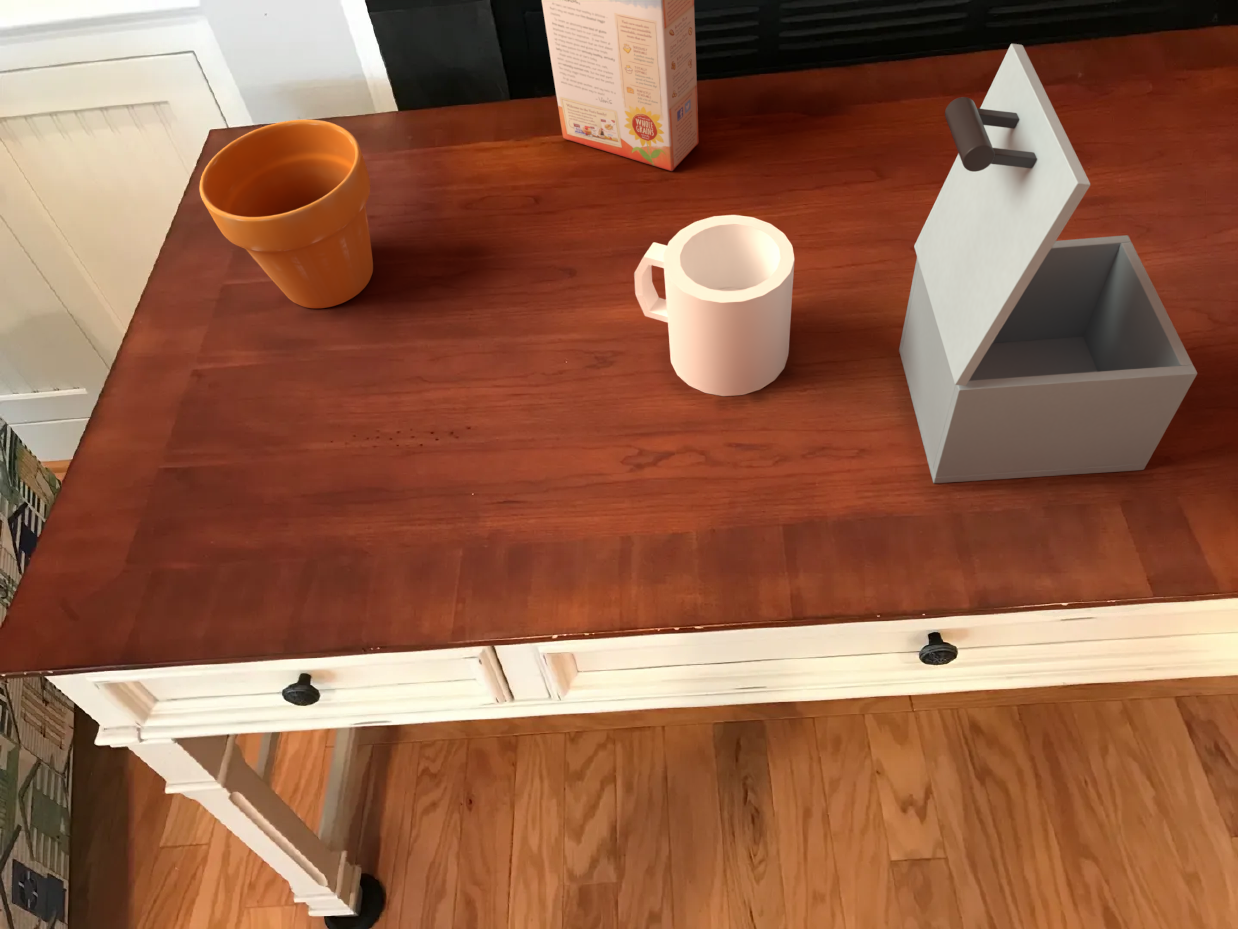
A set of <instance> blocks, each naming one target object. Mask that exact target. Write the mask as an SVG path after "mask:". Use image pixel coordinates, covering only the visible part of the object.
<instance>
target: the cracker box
mask: <svg viewBox="0 0 1238 929" xmlns="http://www.w3.org/2000/svg"><path fill="white" fill-rule="evenodd" d="M541 6H542V12H543V17H544V18H543V19H544V25H545V33H546V37H547V38H546V39H547V44H548V50H549V57H550V63H551V70H552V76H553V83H554V88H555V96H556V101H557V107H558V114H559V121H560V127H561V133H562V138H563V139H564V140H567V141H571V142H573V143H577V144H580V145H584V146H587V147H591V148H594V149H597V150H600V151H604V152H607V153H610V154H614V155H616V156H620V157H623V158H627V159H630V160H633V161H637V162H639V163H642V164H643V163H644V164H647V165H650V166H653V167H656V168H659V169H663V170H665V171H669V172H673V171H674V170H676V168H677V166H679V165H680V164H681V163H682V161H683V160H684V159H685V158H686V157H687V156H688V155H689V154H690V153H691V152H692V151H693V150H694V149H695V147H697V146H698V144H699V142H700V141H699V140H700V139H699V114H698V112H699V109H698V108H699V106H698V81H697V76H698V74H697V53H696V52H697V51H696V50H697V49H696V24H695V23H696V22H695V18H696V17H695V0H541Z"/></svg>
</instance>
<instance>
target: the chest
mask: <svg viewBox="0 0 1238 929" xmlns="http://www.w3.org/2000/svg"><path fill="white" fill-rule="evenodd" d="M898 352H899V354H900V355H899V356H900V359H901V363H902V367H903V371H904V375H905V379H906V382H907V387H908V390H909V394H910V398H911V402H912V407H913V409H914V414H915V417H916V421H917V425H918V429H919V432H920V436H921V441H922V445H923V448H924V453H925V456H926V461H927V465H928V469H929V472H930V476H931V480H932V483H933V484H947V483H960V482H961V483H962V482H978V481H991V480H992V481H994V480H1009V479H1022V478H1023V479H1024V478H1039V477H1053V476H1054V477H1055V476H1056V477H1057V476H1070V475H1071V476H1072V475H1086V474H1101V473H1117V472H1135V471H1144V470H1145V469H1146V467H1147V465H1148V463H1149V461H1150V460H1151V458H1152V456H1153V454H1154V452H1155V451H1156V449H1157V447H1158V445H1159V444H1160V441H1161V440H1162V439H1163V436H1164V435H1165V432H1166V430H1167V429H1168V427H1169V425H1170V424H1171V422H1172V420H1173V419H1174V417H1175V415H1176V413H1177V411H1178V409H1179V408H1180V406H1181V404H1182V402H1183V400H1184V399H1185V397H1186V395H1187V393H1188V391H1189V389H1190V387H1191V386H1192V384H1193V382H1194V380H1195V379H1196V377H1197V375H1198V372H1197V370H1196V367H1195V366H1194V364H1193V362H1192V359H1191V358H1190V356H1189V354H1188V352H1187V350H1186V348H1185V346H1184V343H1183V341H1182V340H1181V338H1180V335H1179V334H1178V332H1177V330H1176V328H1175V325H1174V324H1173V322H1172V320H1171V318H1170V316H1169V314H1168V312H1167V310H1166V308H1165V306H1164V304H1163V301H1162V300H1161V298H1160V296H1159V294H1158V292H1157V290H1156V287H1155V286H1154V284H1153V282H1152V280H1151V278H1150V276H1149V274H1148V272H1147V270H1146V268H1145V266H1144V264H1143V262H1142V260H1141V258H1140V256H1139V254H1138V252H1137V250H1136V248H1135V246H1134V244H1133V242H1132V240H1131V238H1130V236H1129V235H1128V234H1127V235H1124V234H1123V235H1113V236H1102V237H1089V238H1076V239H1075V238H1074V239H1066V240H1063V239H1062V240H1056V241H1055V243H1054V245H1053V246H1052V248H1051V249H1050V251H1049V253H1048V254H1047V256H1046V257H1045V259H1044V261H1043V262H1042V264H1041V265H1040V267H1039V269H1038V270H1037V272H1036V273H1035V275H1034V277H1033V278H1032V280H1031V282H1030V283H1029V285H1028V286H1027V288H1026V290H1025V291H1024V293H1023V294H1022V296H1021V298H1020V299H1019V301H1018V302H1017V304H1016V306H1015V307H1014V309H1013V310H1012V312H1011V314H1010V315H1009V317H1008V318H1007V320H1006V322H1005V323H1004V325H1003V327H1002V328H1001V330H1000V331H999V333H998V335H997V336H996V338H995V339H994V341H993V343H992V344H991V346H990V347H989V349H988V351H987V352H986V354H985V355H984V357H983V359H982V360H981V362H980V364H979V365H978V367H977V368H976V370H975V372H974V373H973V375H972V376H971V378H970V380H969V381H968V383H967V384H966V385H965V386H964V385H955V383H954V380H953V376H952V373H951V370H950V366H949V363H948V359H947V356H946V353H945V349H944V346H943V343H942V339H941V336H940V332H939V329H938V326H937V322H936V319H935V316H934V312H933V309H932V305H931V302H930V299H929V295H928V292H927V288H926V285H925V282H924V278H923V275H922V272H921V268H920V265H919V261H918V258H917V257H916V261H915V265H914V271H913V276H912V282H911V287H910V292H909V297H908V301H907V307H906V312H905V317H904V323H903V328H902V332H901V339H900V343H899V348H898Z"/></svg>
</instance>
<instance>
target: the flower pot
mask: <svg viewBox="0 0 1238 929" xmlns="http://www.w3.org/2000/svg"><path fill="white" fill-rule="evenodd" d="M198 187H199V189H198V190H199V194H200V197H201V201H202V202H203V204H204V206H205V207H206V209H207V211H208V213H209V214H210V216H211V218H212V220H213V222H214V223H215V225H216V226H217V228H218V229H219V231H220V232H221V234H222V236H224V238H225V239H226V240H228V241H229V242H230V243H231V244H233V245H234V246H237V247H239V248H242V249H243V250H245V251H246V252H247V253H248V254H249V255H250V256H251V257H252V259H253V260H254V261H255V263H257V265H258V266H259V267H260V268H261V269H262V270H263V271H264V273H265V274H266V275H267V276H268V277H269V279H271V281H273V283H274V284H275V285H276V286H277V288H279V290H280V291H281V292H282V293H283V294H284V295H285V296H286V297H287V298H288V300H290V301H291V302H292V303H294V304H296V305H298V306H301V307H303V308H307V309H325V308H331V307H335V306H338V305H341V304H343V303H346V302H348V301H349V300H352V299H353V298H354V297H356V296H358V295H359V294H360V293H361V292H362V291H363V290H364V289H365V288H366V287H367V285H368V284H369V282H370V281H371V279H372V275H373V272H374V261H373V252H372V242H371V234H370V226H369V218H368V212H367V205H366V204H367V202H368V200H369V198H370V193H371V178H370V175H369V171H368V169H367V164H366V160H365V158H364V155H363V152H362V150H361V147H360V144H359V142H358V140H357V138H356V137H355V136H354V135H353V134H352V133H351V132H350V131H348V130H347V129H346V128H344V127H342V126H340V125H338V124H335V123H333V122H330V121H325V120H319V119H292V120H285V121H279V122H276V123H271V124H268V125H265V126H261V127H259V128H257V129H254V130H251V131H249V132H246V133H245V134H243V135H242V136H239V137H237V138H236V139H235V140H232V141H231V142H230V143H228V144H227V145H226V146H225V147H223V148H221V149H220V151H218V152H217V153H216V154H215V155H214V156H213V157H212V158H211V159H210V161H209V162H208V164H207V165H206V166H205V167H204V170H203V171H202V174H201V176H200V181H199V186H198Z"/></svg>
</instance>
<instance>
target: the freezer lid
mask: <svg viewBox="0 0 1238 929" xmlns="http://www.w3.org/2000/svg"><path fill="white" fill-rule="evenodd" d="M944 117H945V120H946V122H947V123H946V124H947V126H948V128H949V131H950V134H951V136H952V139H953V143H954V145H955V148H956V149H957V152H958V153H957V156H956V158H955V160H954V161H953V164H952V166H951V168H950V169H949V172H948V175H947V177H946V178H945V180H944V183H943V185H942V187H941V189H940V191H939V193H938V195H937V197H936V200H935V201H934V204H933V206H932V208H931V210H930V212H929V214H928V216H927V218H926V220H925V222H924V224H923V227H922V228H921V231H920V233H919V235H918V237H917V239H916V242H915V243H914V246H913V248H914V251H915V255H916V259H917V258H918V261H919V265H920V268H921V272H922V275H923V278H924V282H925V285H926V288H927V292H928V295H929V299H930V302H931V305H932V309H933V312H934V316H935V319H936V322H937V326H938V329H939V332H940V336H941V339H942V343H943V346H944V349H945V353H946V356H947V359H948V363H949V366H950V370H951V373H952V376H953V380H954V383H955V385H964V386H965V385H966V384H967V383H968V381H969V380H970V378H971V376H972V375H973V373H974V372H975V370H976V368H977V367H978V365H979V364H980V362H981V360H982V359H983V357H984V355H985V354H986V352H987V351H988V349H989V347H990V346H991V344H992V343H993V341H994V339H995V338H996V336H997V335H998V333H999V331H1000V330H1001V328H1002V327H1003V325H1004V323H1005V322H1006V320H1007V318H1008V317H1009V315H1010V314H1011V312H1012V310H1013V309H1014V307H1015V306H1016V304H1017V302H1018V301H1019V299H1020V298H1021V296H1022V294H1023V293H1024V291H1025V290H1026V288H1027V286H1028V285H1029V283H1030V282H1031V280H1032V278H1033V277H1034V275H1035V273H1036V272H1037V270H1038V269H1039V267H1040V265H1041V264H1042V262H1043V261H1044V259H1045V257H1046V256H1047V254H1048V253H1049V251H1050V249H1051V248H1052V246H1053V245H1054V243H1055V241H1058V238H1059V237H1060V235H1061V233H1062V232H1063V230H1064V229H1065V227H1066V225H1067V224H1068V222H1069V221H1070V219H1071V218H1072V216H1073V214H1074V212H1075V211H1076V210H1077V209H1078V208H1077V207H1078V206H1079V204H1080V203H1081V201H1082V200H1083V198H1084V197H1085V195H1086V193H1087V191H1088V190H1089V188H1090V187H1091V184H1092V183H1091V181H1090V180H1089V178H1088V176H1087V174H1086V172H1085V169H1084V168H1083V165H1082V163H1081V161H1080V160H1079V157H1078V156H1077V154H1076V151H1075V149H1074V147H1073V145H1072V143H1071V141H1070V139H1069V137H1068V135H1067V133H1066V131H1065V129H1064V127H1063V125H1062V123H1061V121H1060V119H1059V117H1058V114H1057V112H1056V110H1055V108H1054V106H1053V104H1052V102H1051V100H1050V98H1049V96H1048V94H1047V92H1046V90H1045V88H1044V86H1043V84H1042V82H1041V80H1040V77H1039V75H1038V74H1037V72H1036V70H1035V67H1034V65H1033V63H1032V61H1031V59H1030V57H1029V55H1028V53H1027V51H1026V49H1025V47H1024V45H1022V44H1019V43H1018V44H1017V43H1011V44H1010V45H1009V46H1008V49H1007V51H1006V54H1005V55H1004V58H1003V60H1002V61H1001V64H1000V65H999V68H998V70H997V72H996V74H995V77H994V78H993V81H992V82H991V85H990V87H989V89H988V91H987V93H986V95H985V97H984V99H983V101H982V104H981V106H980V107H979V108H978V107H977V105H976V103H975V101H974V100H973V99H972V98H969V97H967V96H961V97H957V98H955V99H953V100H952V101H951V102H949V104H947V106H946V108H945V111H944Z"/></svg>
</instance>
